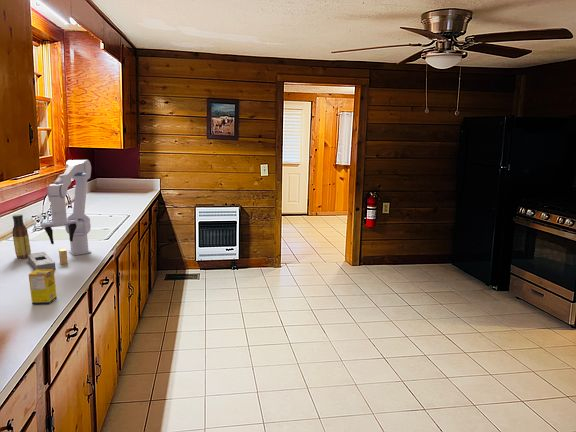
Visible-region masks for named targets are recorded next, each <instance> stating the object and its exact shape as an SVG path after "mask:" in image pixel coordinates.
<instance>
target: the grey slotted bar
mask: <svg viewBox="0 0 576 432" xmlns="http://www.w3.org/2000/svg"><path fill="white" fill-rule="evenodd" d="M26 259H27V262H28V263H29V264H30V265H31V267H32V268H33V269H34V271H35V270H36V269H54V271H56V270H57V269H56V262H55V261H54V260H53V259H52V258H51V257H50V256H49V255H48V254H47V253H46V252H45V251H40V252H33V253H31V254H27V258H26Z"/></svg>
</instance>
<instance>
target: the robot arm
mask: <svg viewBox="0 0 576 432" xmlns="http://www.w3.org/2000/svg"><path fill="white" fill-rule="evenodd" d="M65 162H66V163H65V171H64V172H63V173H62V174H59V175H58V176H57V178H56V179H55V180H54V181H53V182H52V184H49V185H48V186H47V187H46V194H47V197H48V201H49V203H50V209H51V210H50V211H51V219H52V220H51V221H48V222H44V223H40V225H41V229H44V230H45V233H46V235H47V236H48V237H49V241H50V244H51V245H55V243H54V235H53V231H54V230H53V229H52V228H57V227H64V226H65V227H64V229H65V232H66V233H67V234H68V236H69V237H68V238H69V244H70V250H68V252H69V253H70V254H71V255H73V256H78V255H84V254H91V253H92V251H91V250H90V249H89V242H88V240H89V239H88V234H89V233H90V231H91V227H92V226H91V218H90V217H89V216H88V215H86V214H85V209H86V198H87V187H88V180H89V179H91V174H92V165H91V162H90V160H89V159H73V160H72V159H68V160H66V161H65ZM72 180H75V181H74V182H75V185H74V186H75V188H74V189H75V190H74V198H73V199H74V200H73V209H72V214H70V215H68V216H67V206H66V205H67V204H66V197H67V194H68V189H69V187H70V186H71V184H72Z"/></svg>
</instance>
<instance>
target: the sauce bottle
mask: <svg viewBox="0 0 576 432" xmlns="http://www.w3.org/2000/svg"><path fill="white" fill-rule="evenodd" d="M12 220H13V228H12V238H13V246H14V252H15V255H16V258H17V259H21V260H22V259H28V258H27V254H32V249H31V245H30V243H31V242H30V238H29V233H28V228H27V227H26V225H25V224H24V216H23V214H14V215H12Z"/></svg>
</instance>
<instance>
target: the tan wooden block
mask: <svg viewBox="0 0 576 432" xmlns="http://www.w3.org/2000/svg"><path fill="white" fill-rule="evenodd" d="M58 255H59V256H58V257H59V258H58V259H59V263H60V264H61V265H67V264H69V261H68V251H67V249H66V248H59V249H58Z"/></svg>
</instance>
